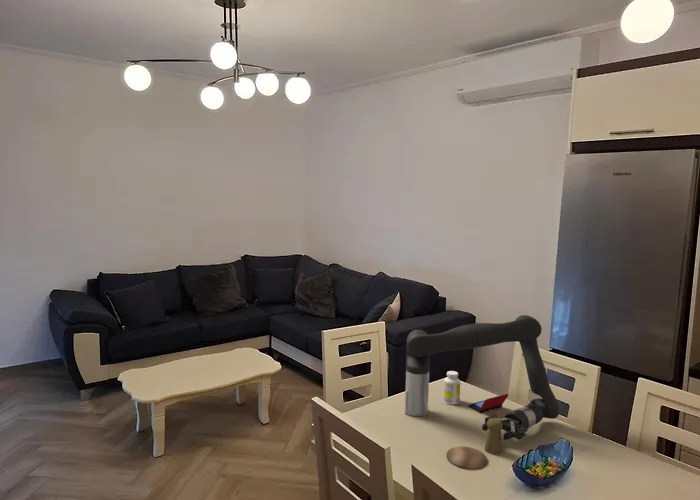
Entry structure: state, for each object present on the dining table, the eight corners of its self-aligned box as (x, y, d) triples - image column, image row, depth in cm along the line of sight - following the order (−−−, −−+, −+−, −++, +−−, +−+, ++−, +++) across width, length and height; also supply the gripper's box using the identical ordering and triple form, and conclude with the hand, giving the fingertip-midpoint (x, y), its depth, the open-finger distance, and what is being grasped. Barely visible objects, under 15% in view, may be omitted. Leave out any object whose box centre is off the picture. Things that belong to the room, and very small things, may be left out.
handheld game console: (489, 401, 212) (490, 384, 211) (508, 411, 203) (509, 393, 202) (467, 406, 206) (467, 389, 205) (485, 417, 197) (486, 399, 196)
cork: (503, 455, 167) (505, 424, 166) (485, 453, 168) (486, 422, 167) (501, 446, 173) (503, 416, 172) (483, 444, 174) (485, 415, 173)
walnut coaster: (448, 467, 159) (448, 465, 159) (445, 447, 172) (445, 445, 172) (489, 470, 158) (489, 468, 158) (483, 450, 171) (483, 447, 171)
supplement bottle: (457, 398, 214) (458, 369, 213) (461, 405, 207) (462, 375, 206) (441, 398, 214) (442, 370, 212) (445, 405, 207) (446, 375, 206)
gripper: (503, 403, 185) (476, 414, 175) (538, 416, 174) (512, 429, 164) (503, 422, 186) (475, 435, 176) (537, 437, 175) (511, 451, 165)
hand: (493, 432), depth 170 cm, fingers open, 8 cm apart
